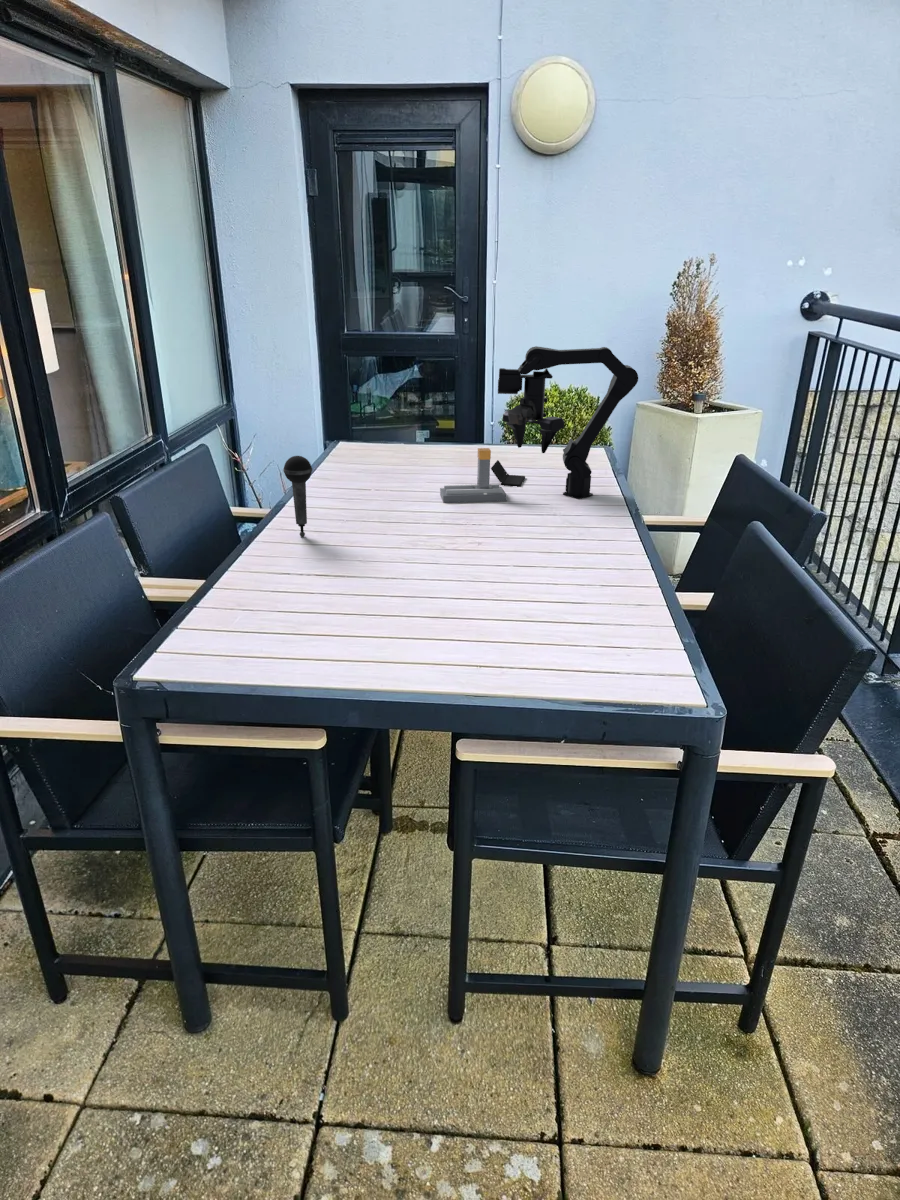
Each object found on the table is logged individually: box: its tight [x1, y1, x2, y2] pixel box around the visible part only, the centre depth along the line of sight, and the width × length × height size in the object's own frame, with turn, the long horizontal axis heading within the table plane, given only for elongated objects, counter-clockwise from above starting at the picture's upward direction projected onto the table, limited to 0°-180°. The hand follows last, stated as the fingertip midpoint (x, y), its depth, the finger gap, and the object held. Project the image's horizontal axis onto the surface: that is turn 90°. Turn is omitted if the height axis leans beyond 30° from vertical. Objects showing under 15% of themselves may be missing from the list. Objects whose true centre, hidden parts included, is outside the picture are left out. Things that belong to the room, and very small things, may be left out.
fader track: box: [439, 483, 507, 504], centre depth 225 cm, size 18×8×3 cm, turn 97°
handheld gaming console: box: [490, 459, 526, 488], centre depth 243 cm, size 12×7×10 cm
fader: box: [473, 447, 493, 489], centre depth 223 cm, size 5×3×12 cm, turn 97°
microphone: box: [282, 455, 313, 538], centre depth 189 cm, size 7×7×20 cm
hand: (531, 450), depth 225 cm, fingers open, 9 cm apart
